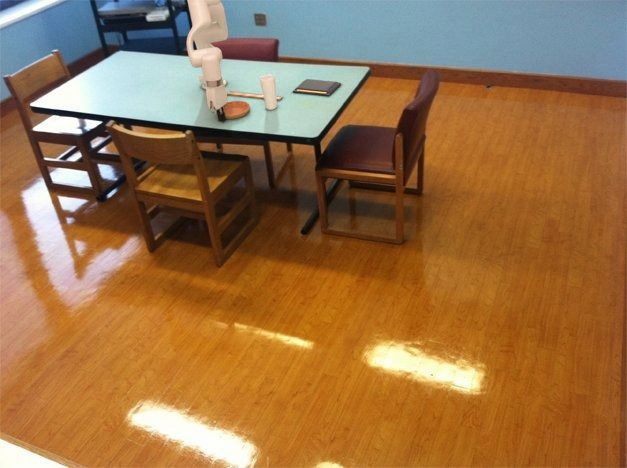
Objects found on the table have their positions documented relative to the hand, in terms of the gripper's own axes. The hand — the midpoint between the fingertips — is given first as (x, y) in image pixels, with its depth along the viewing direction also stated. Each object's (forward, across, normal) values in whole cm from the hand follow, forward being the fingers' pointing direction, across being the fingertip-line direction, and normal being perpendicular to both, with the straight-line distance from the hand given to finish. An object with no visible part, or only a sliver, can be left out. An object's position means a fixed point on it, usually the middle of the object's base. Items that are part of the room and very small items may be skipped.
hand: (222, 120), depth 272 cm
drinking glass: (+1, -20, +15) cm, 25 cm away
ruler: (+1, -29, 0) cm, 29 cm away
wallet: (+1, -45, +27) cm, 52 cm away
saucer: (+1, -10, 0) cm, 10 cm away
